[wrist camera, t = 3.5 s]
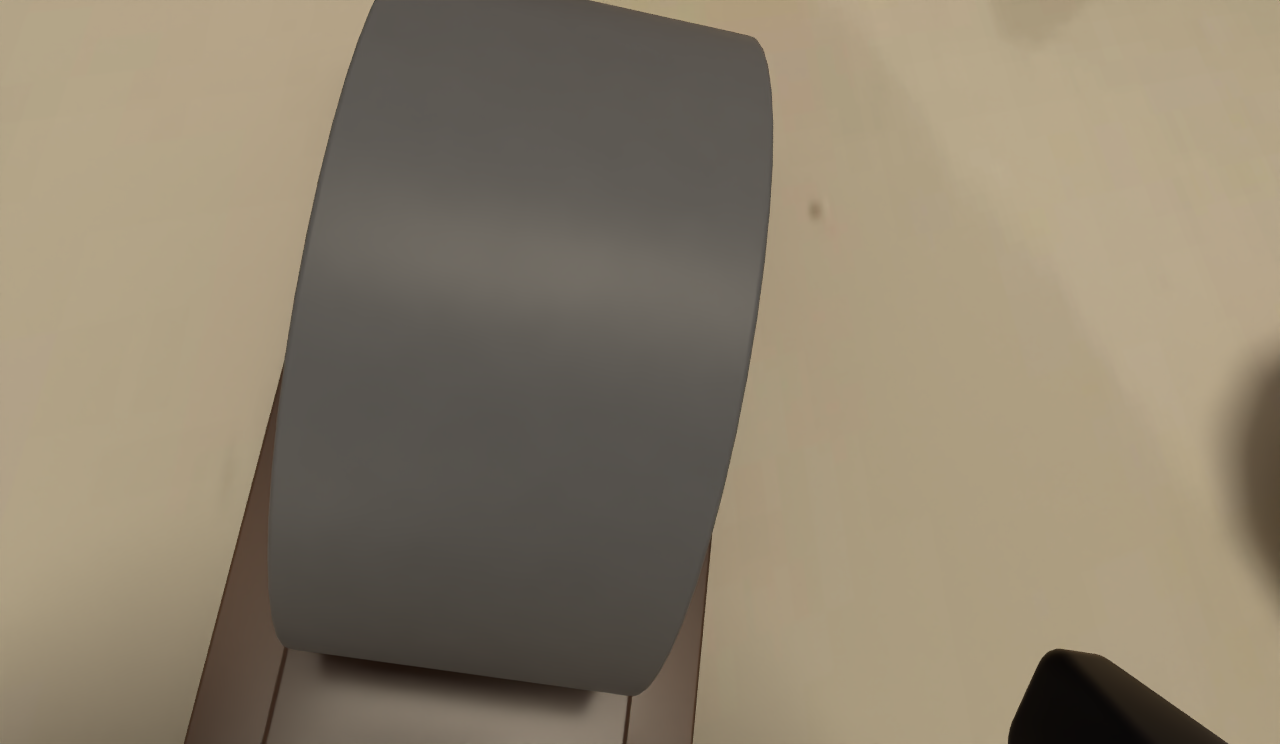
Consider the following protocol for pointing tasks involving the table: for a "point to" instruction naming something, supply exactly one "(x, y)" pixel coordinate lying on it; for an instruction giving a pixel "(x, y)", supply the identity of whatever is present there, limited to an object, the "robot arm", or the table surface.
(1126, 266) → the table surface
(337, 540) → the tape roll
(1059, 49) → the table surface
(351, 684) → the holder
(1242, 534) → the table surface
